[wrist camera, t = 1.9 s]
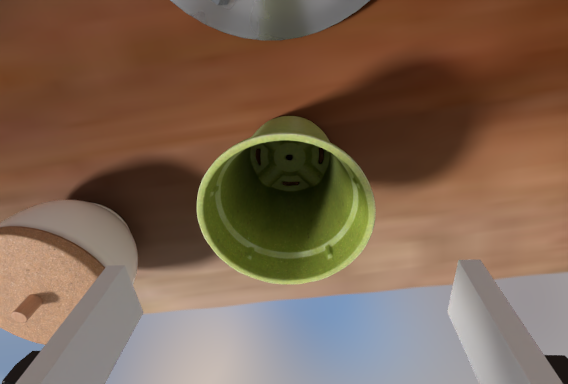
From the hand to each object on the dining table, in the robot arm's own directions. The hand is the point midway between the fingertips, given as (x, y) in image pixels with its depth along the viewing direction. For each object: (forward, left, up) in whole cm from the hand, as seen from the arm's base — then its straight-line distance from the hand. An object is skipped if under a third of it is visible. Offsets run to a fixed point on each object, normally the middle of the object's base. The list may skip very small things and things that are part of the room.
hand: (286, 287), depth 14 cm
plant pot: (0, 0, -14) cm, 14 cm away
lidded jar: (-8, -17, -14) cm, 23 cm away
